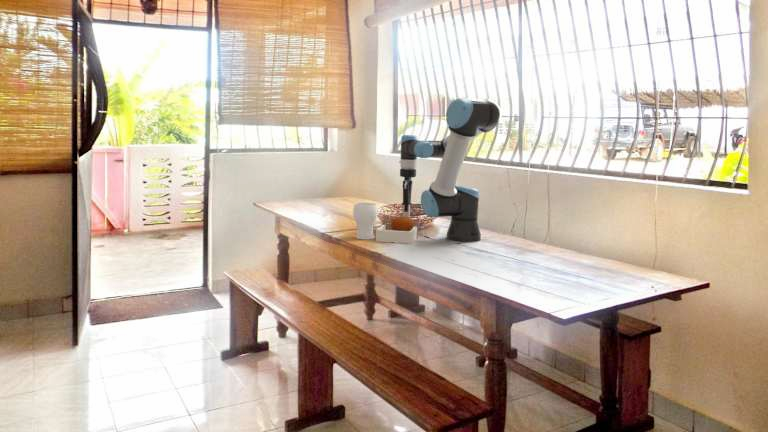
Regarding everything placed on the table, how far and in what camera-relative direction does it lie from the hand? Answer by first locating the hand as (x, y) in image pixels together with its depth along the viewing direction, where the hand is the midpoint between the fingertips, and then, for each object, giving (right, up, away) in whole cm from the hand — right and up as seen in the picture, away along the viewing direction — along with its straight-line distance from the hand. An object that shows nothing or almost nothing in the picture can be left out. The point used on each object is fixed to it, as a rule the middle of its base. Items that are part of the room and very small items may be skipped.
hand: (406, 218), depth 296 cm
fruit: (-2, -7, -9) cm, 12 cm away
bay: (-5, -9, -22) cm, 24 cm away
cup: (-19, -9, -21) cm, 30 cm away
